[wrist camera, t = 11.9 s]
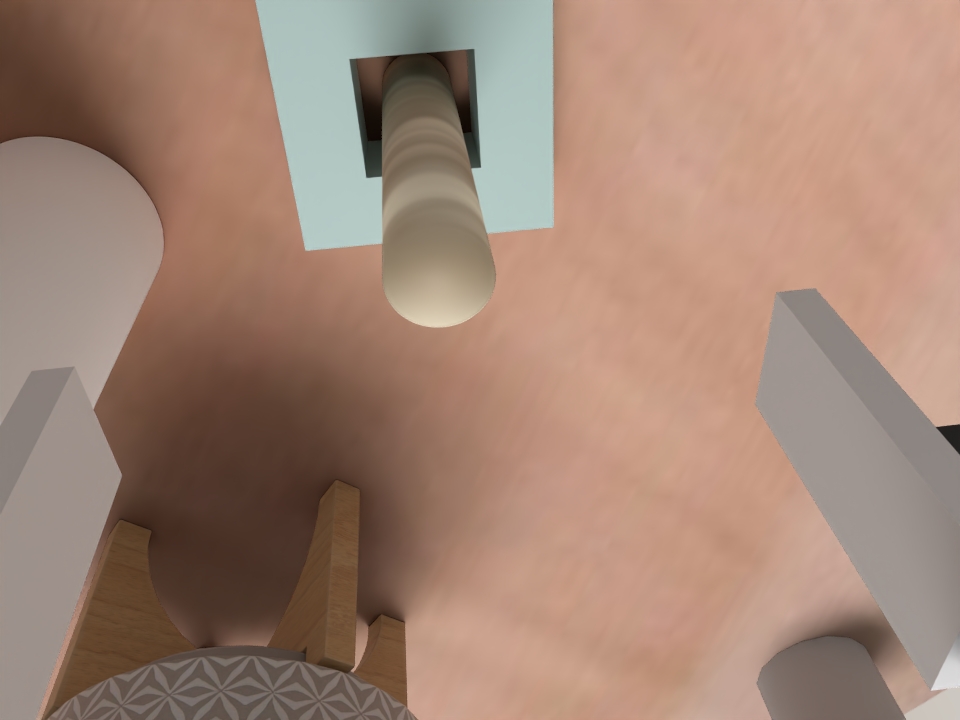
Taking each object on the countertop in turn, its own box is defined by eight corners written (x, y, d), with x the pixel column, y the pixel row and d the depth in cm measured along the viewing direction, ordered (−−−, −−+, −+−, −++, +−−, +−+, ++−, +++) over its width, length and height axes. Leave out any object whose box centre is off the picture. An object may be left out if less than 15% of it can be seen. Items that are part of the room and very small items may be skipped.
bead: (265, -42, 30) (250, -22, 26) (534, -63, 30) (552, -46, 27) (312, 208, 36) (305, 250, 32) (537, 188, 36) (553, 227, 33)
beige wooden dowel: (377, 55, 32) (375, 233, 19) (448, 49, 32) (493, 222, 19) (386, 124, 34) (389, 332, 21) (453, 118, 34) (498, 321, 21)
